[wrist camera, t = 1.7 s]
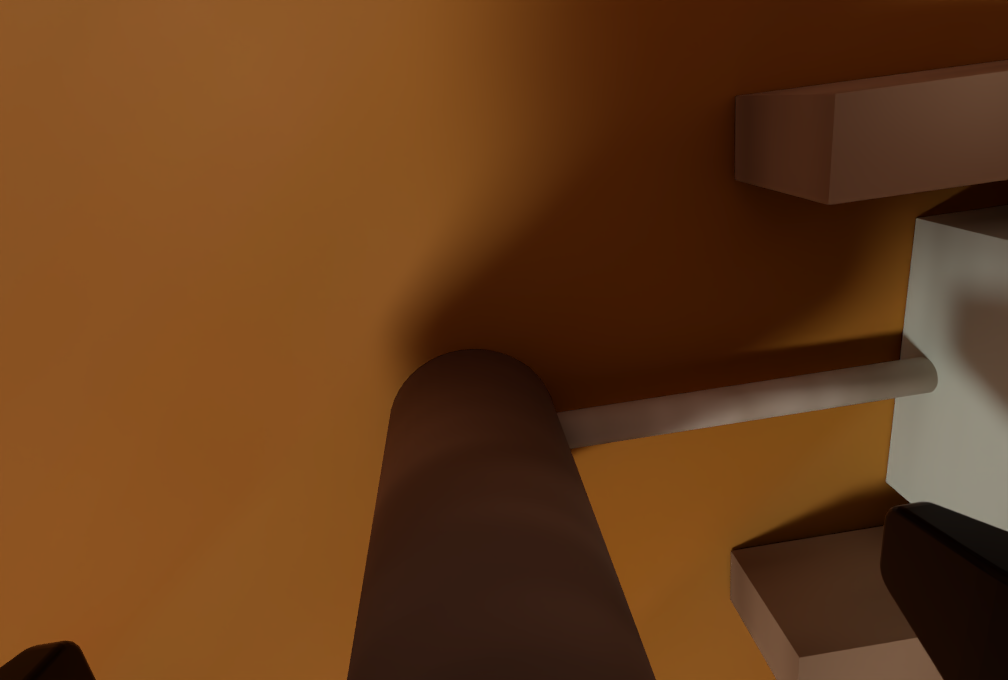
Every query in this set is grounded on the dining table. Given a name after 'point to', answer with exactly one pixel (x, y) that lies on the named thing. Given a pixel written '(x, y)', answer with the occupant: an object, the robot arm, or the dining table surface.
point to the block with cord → (549, 437)
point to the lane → (832, 180)
